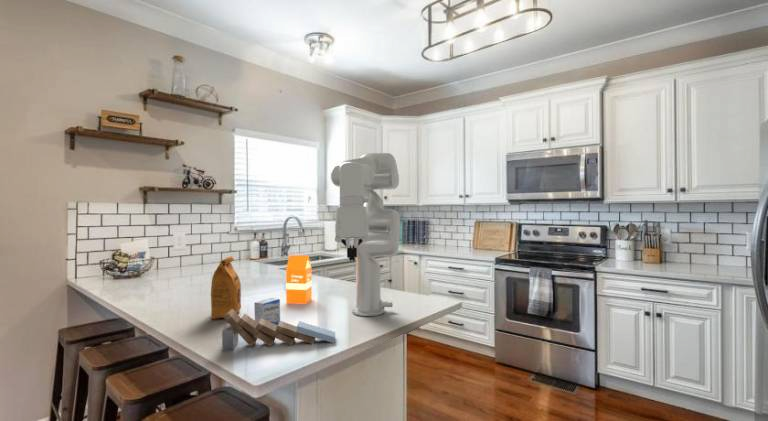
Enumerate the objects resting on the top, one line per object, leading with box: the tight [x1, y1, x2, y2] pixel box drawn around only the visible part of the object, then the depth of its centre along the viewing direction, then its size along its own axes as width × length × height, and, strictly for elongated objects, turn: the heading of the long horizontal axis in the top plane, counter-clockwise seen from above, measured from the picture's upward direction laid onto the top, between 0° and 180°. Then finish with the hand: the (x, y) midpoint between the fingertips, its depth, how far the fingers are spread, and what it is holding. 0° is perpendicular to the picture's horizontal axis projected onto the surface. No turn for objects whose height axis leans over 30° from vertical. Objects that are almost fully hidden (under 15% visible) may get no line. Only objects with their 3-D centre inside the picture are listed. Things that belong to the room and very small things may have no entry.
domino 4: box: [276, 320, 316, 345], centre depth 119 cm, size 2×5×12 cm
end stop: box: [221, 322, 239, 352], centre depth 116 cm, size 3×7×6 cm, turn 9°
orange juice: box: [285, 254, 313, 305], centre depth 168 cm, size 8×9×20 cm
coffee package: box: [210, 255, 242, 320], centre depth 148 cm, size 10×12×22 cm
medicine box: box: [253, 297, 281, 325], centre depth 136 cm, size 8×4×9 cm, turn 148°
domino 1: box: [222, 309, 259, 347], centre depth 117 cm, size 2×5×12 cm
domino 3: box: [256, 318, 296, 346], centre depth 119 cm, size 2×5×12 cm
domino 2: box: [238, 313, 276, 347], centre depth 118 cm, size 2×5×12 cm
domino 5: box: [296, 320, 336, 344], centre depth 120 cm, size 2×5×12 cm
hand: (351, 259), depth 122 cm, fingers closed
